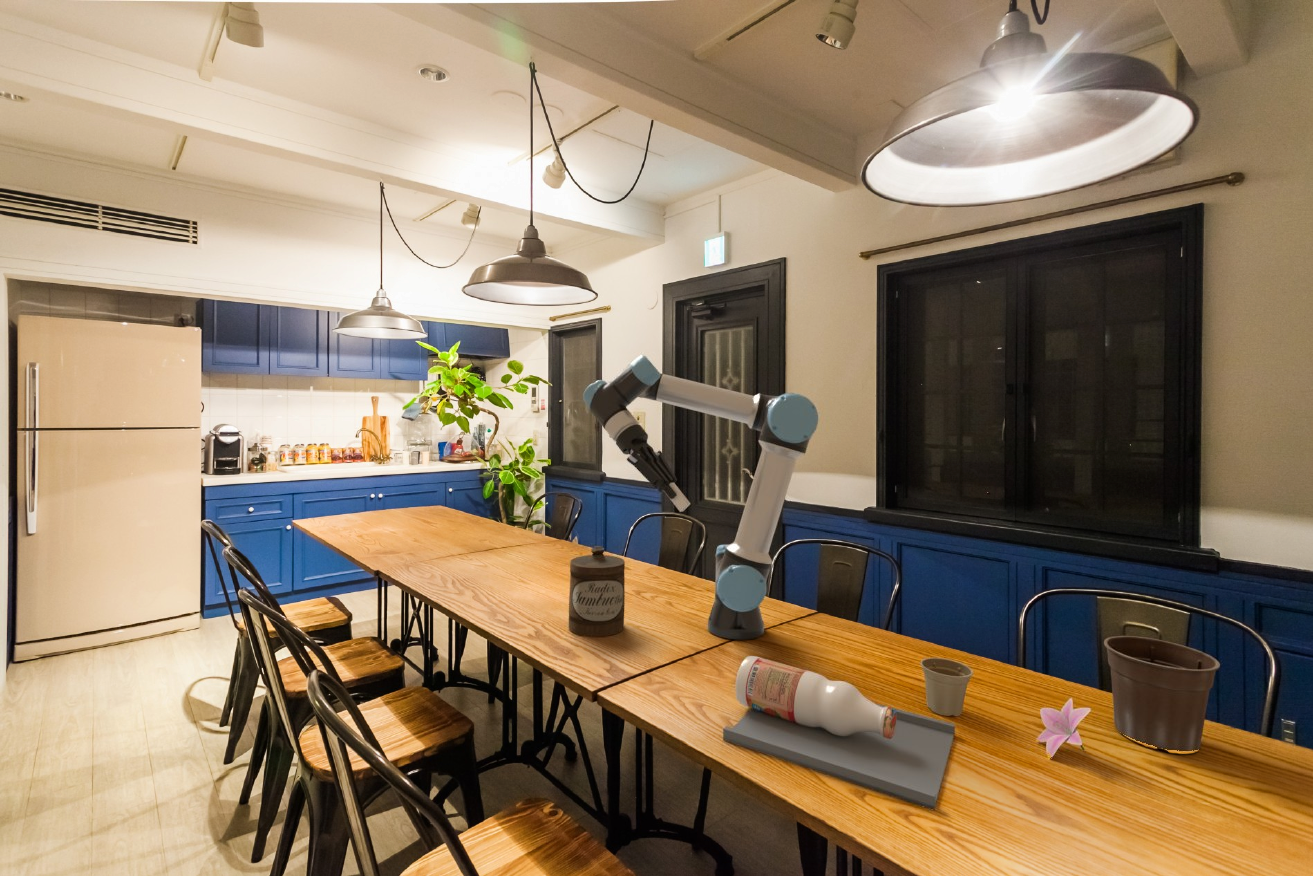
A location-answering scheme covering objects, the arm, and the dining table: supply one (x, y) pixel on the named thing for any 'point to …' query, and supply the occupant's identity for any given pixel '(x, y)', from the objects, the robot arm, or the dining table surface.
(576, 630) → the wooden container
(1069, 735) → the lily
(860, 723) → the fruit juice
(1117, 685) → the plant pot
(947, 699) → the flower pot
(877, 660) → the dining table surface
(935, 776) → the gray tray
